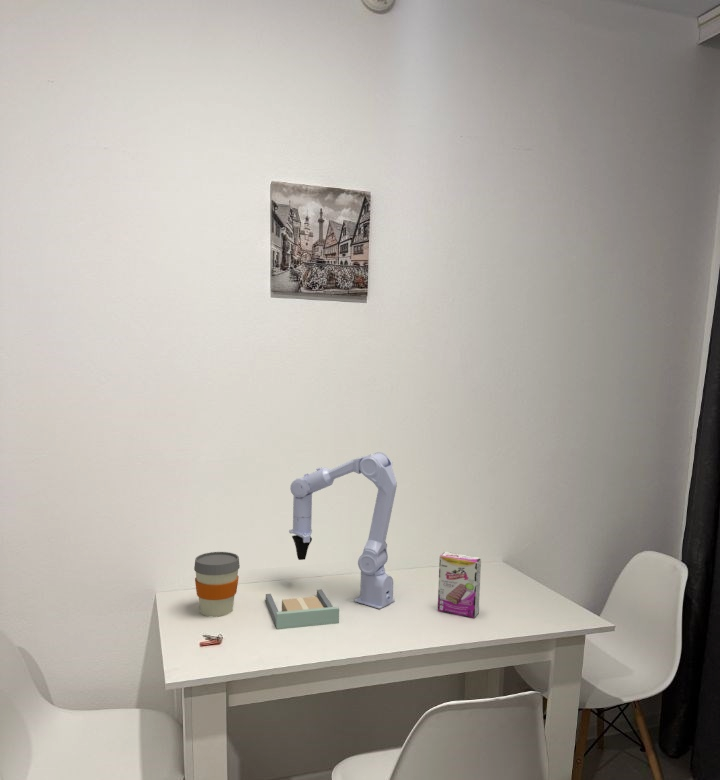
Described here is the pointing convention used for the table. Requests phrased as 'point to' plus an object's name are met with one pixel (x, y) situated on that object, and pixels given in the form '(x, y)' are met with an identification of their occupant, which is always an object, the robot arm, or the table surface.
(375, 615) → the table surface
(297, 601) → the carton
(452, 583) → the candy bar box
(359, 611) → the table surface
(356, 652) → the table surface
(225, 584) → the reusable coffee cup
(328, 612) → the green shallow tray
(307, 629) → the table surface
